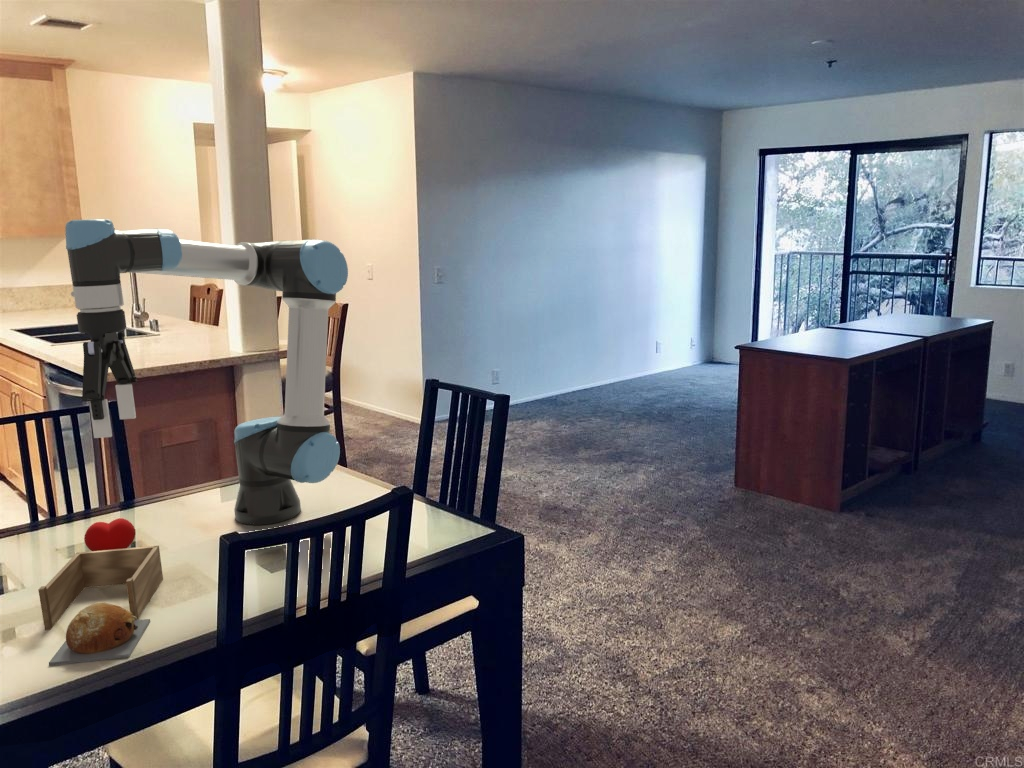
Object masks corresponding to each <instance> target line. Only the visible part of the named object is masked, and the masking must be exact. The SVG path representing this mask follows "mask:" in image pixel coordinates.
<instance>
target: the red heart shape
mask: <svg viewBox="0 0 1024 768" xmlns="http://www.w3.org/2000/svg"><path fill="white" fill-rule="evenodd" d="M86 529H87V530H86V531H85V534H84V538H83V539H84V543H85V547H86V548H87V549H88V550H89V551H102V550H113V549H125V548H130V547H129V546H131V545H132V544H133V542H134V540H135V538H136V529H135V526H134V524H133V523H132V522H131V521H130V520H127V519H126V518H121V517H120V518H115V519H113V520H111V521H110V522H109V523H108V522H106V521H105V522H104V521H98V522H94V523H93V524H91V525H89V527H88V528H86Z"/></svg>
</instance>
